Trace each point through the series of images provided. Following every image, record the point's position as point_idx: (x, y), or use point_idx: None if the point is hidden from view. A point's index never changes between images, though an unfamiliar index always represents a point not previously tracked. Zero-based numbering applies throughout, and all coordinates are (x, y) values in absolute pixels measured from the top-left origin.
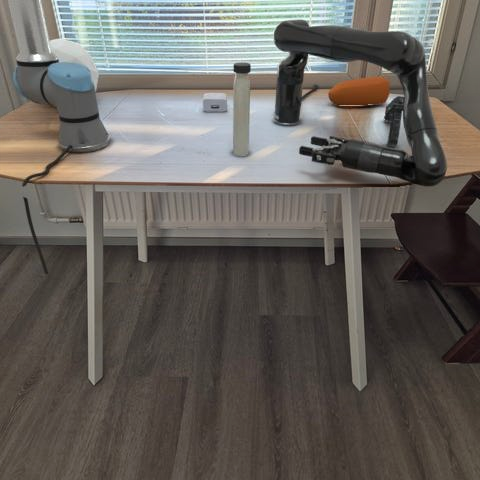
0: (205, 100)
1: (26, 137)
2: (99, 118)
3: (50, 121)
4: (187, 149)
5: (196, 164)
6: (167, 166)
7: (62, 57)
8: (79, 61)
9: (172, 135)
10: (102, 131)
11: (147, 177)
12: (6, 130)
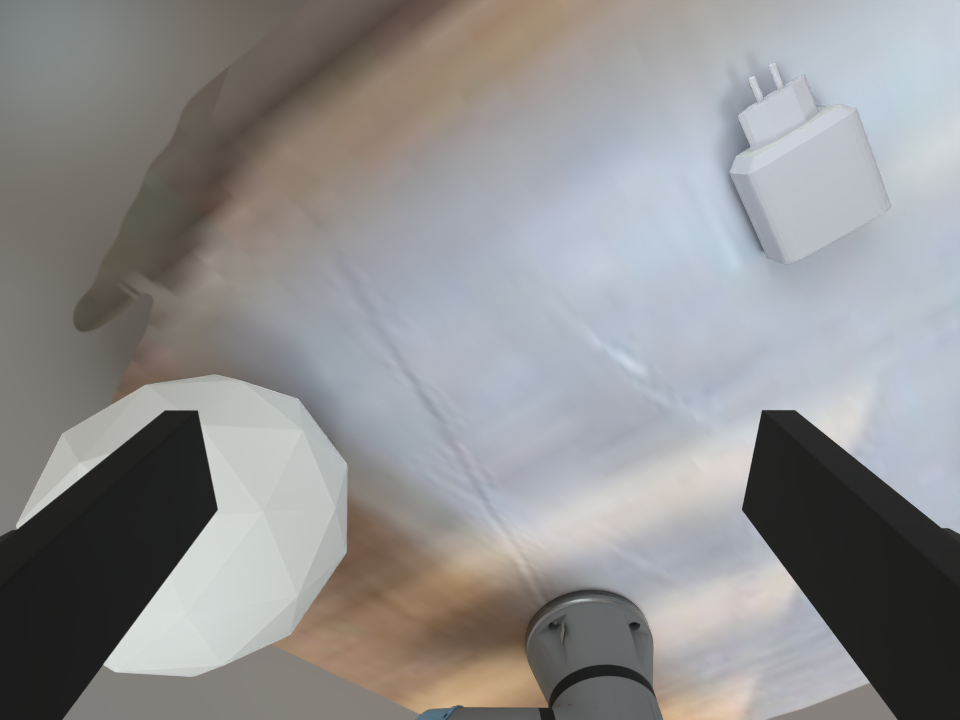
0: (798, 259)
1: (422, 672)
2: (645, 674)
3: (361, 581)
4: None
5: None
6: None
7: (269, 634)
8: (310, 571)
9: None
10: (651, 656)
11: (834, 684)
12: (332, 669)
